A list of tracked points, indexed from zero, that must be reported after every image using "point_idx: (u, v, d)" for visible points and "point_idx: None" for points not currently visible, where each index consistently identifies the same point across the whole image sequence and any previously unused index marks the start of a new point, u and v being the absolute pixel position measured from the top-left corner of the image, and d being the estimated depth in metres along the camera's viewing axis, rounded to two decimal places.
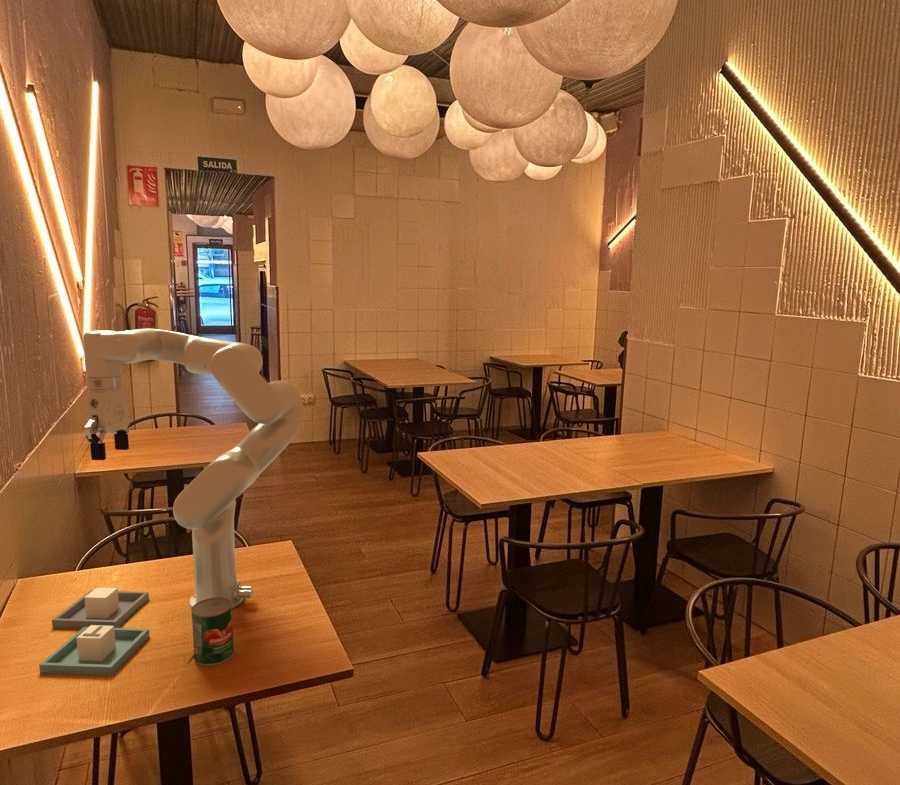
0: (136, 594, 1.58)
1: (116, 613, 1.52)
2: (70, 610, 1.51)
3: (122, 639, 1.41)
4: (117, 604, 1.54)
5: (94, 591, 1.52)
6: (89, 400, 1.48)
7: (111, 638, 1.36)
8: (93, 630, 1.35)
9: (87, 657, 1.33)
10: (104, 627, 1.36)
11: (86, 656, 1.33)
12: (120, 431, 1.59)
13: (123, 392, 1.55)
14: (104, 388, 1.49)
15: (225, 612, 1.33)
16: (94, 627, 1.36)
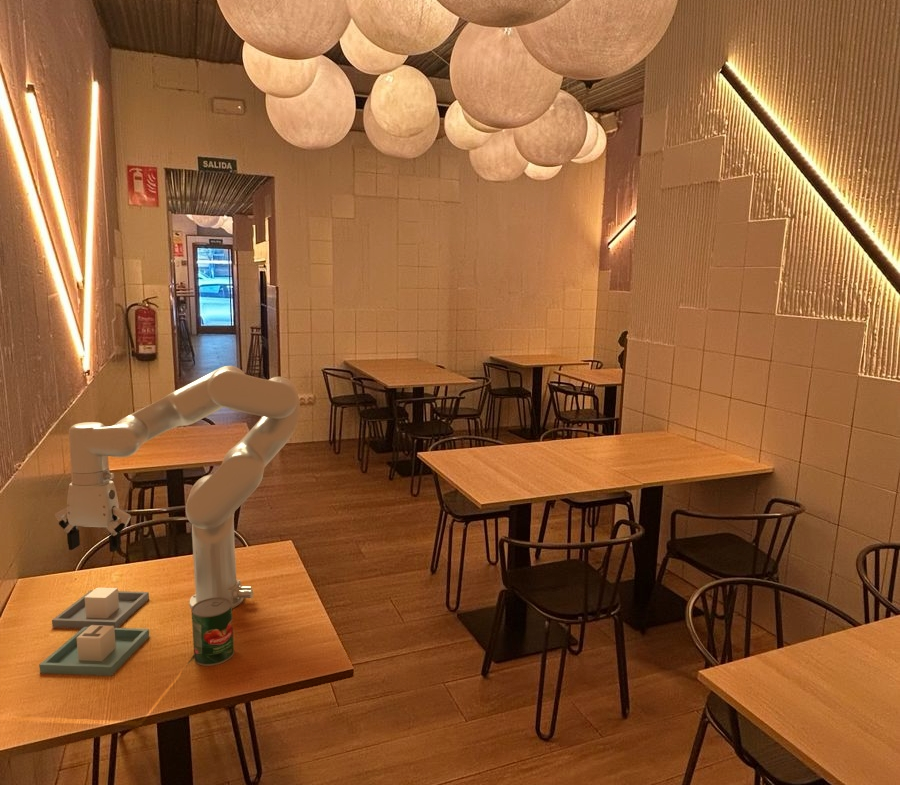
0: (136, 594, 1.58)
1: (116, 613, 1.52)
2: (70, 610, 1.51)
3: (122, 639, 1.41)
4: (117, 604, 1.54)
5: (94, 591, 1.52)
6: (107, 493, 1.46)
7: (111, 638, 1.36)
8: (93, 630, 1.35)
9: (87, 657, 1.33)
10: (104, 627, 1.36)
11: (86, 656, 1.33)
12: (73, 528, 1.49)
13: None
14: None
15: (225, 612, 1.33)
16: (94, 627, 1.36)
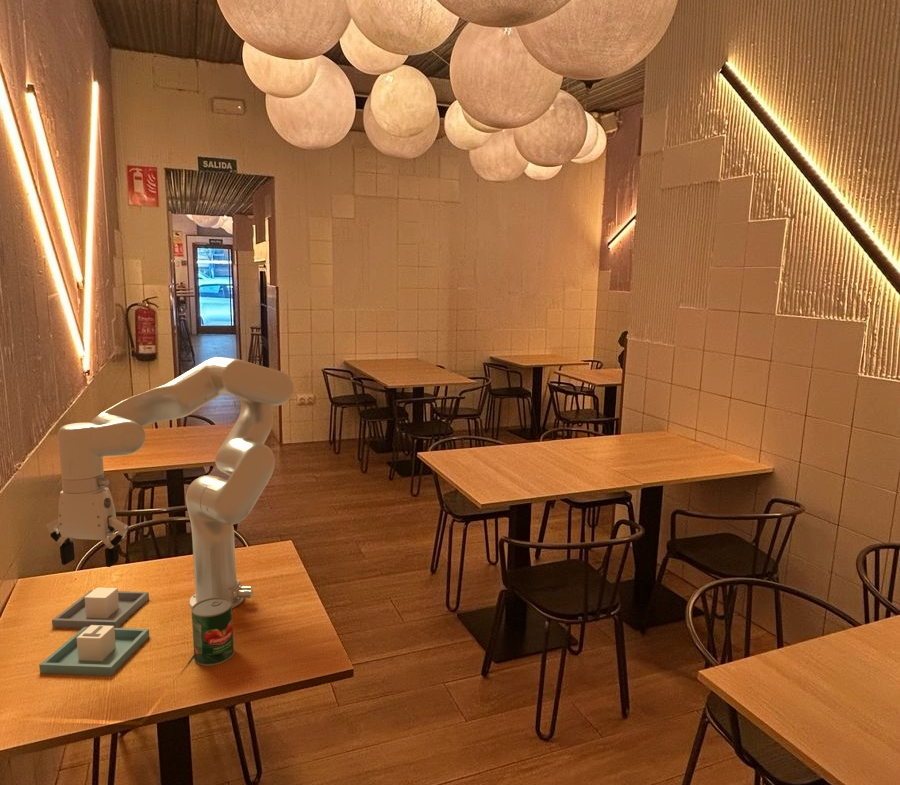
0: (136, 594, 1.58)
1: (116, 613, 1.52)
2: (70, 610, 1.51)
3: (122, 639, 1.41)
4: (117, 604, 1.54)
5: (94, 591, 1.52)
6: (101, 502, 1.31)
7: (111, 638, 1.36)
8: (93, 630, 1.35)
9: (87, 657, 1.33)
10: (104, 627, 1.36)
11: (86, 656, 1.33)
12: (66, 541, 1.35)
13: None
14: None
15: (225, 612, 1.33)
16: (94, 627, 1.36)
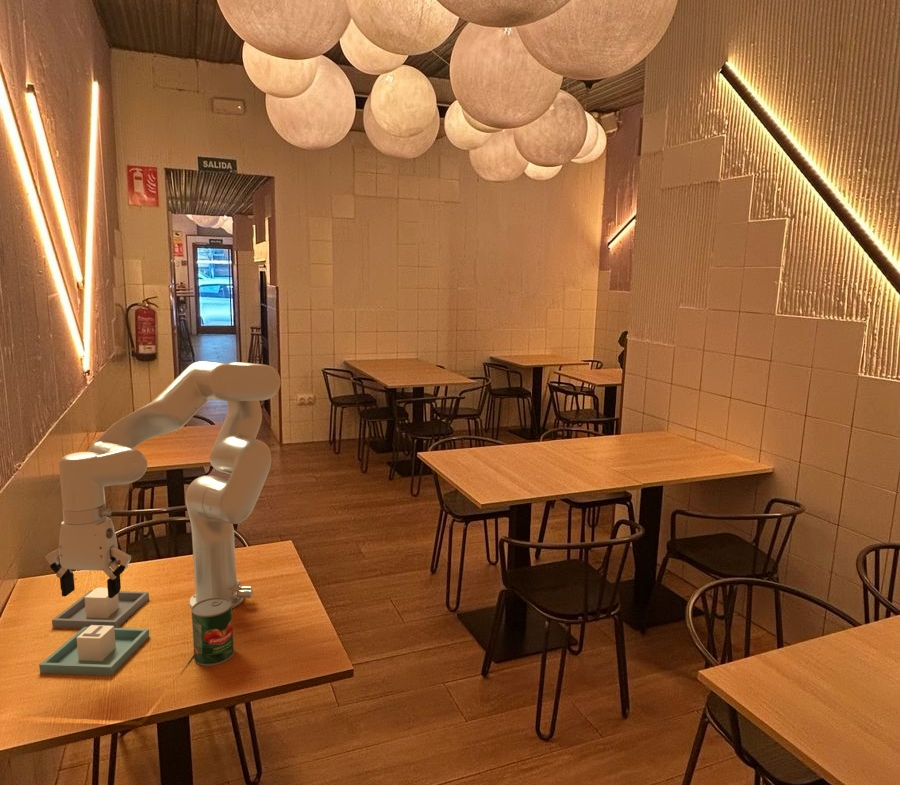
0: (136, 594, 1.58)
1: (116, 613, 1.52)
2: (70, 610, 1.51)
3: (122, 639, 1.41)
4: (117, 604, 1.54)
5: (94, 591, 1.52)
6: (104, 532, 1.30)
7: (111, 638, 1.36)
8: (93, 630, 1.35)
9: (87, 657, 1.33)
10: (104, 627, 1.36)
11: (86, 656, 1.33)
12: (67, 572, 1.33)
13: None
14: None
15: (225, 612, 1.33)
16: (94, 627, 1.36)
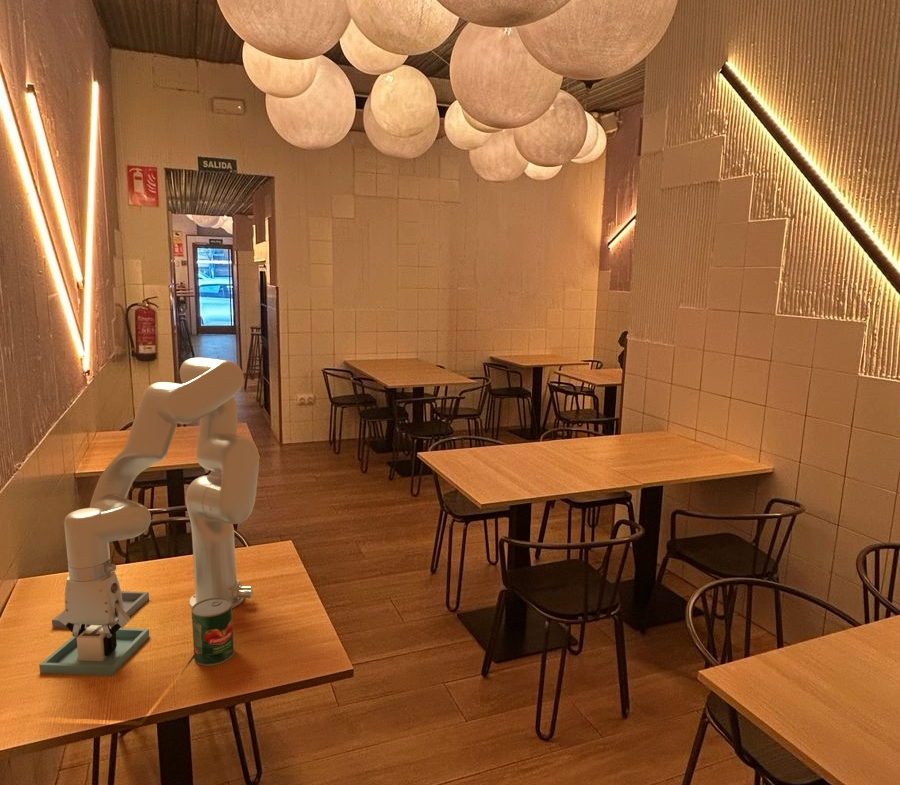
0: (136, 594, 1.58)
1: None
2: None
3: (122, 639, 1.41)
4: None
5: None
6: (109, 588, 1.31)
7: None
8: (93, 630, 1.35)
9: (87, 657, 1.33)
10: None
11: (86, 656, 1.33)
12: (82, 629, 1.35)
13: None
14: None
15: (225, 612, 1.33)
16: (94, 627, 1.36)
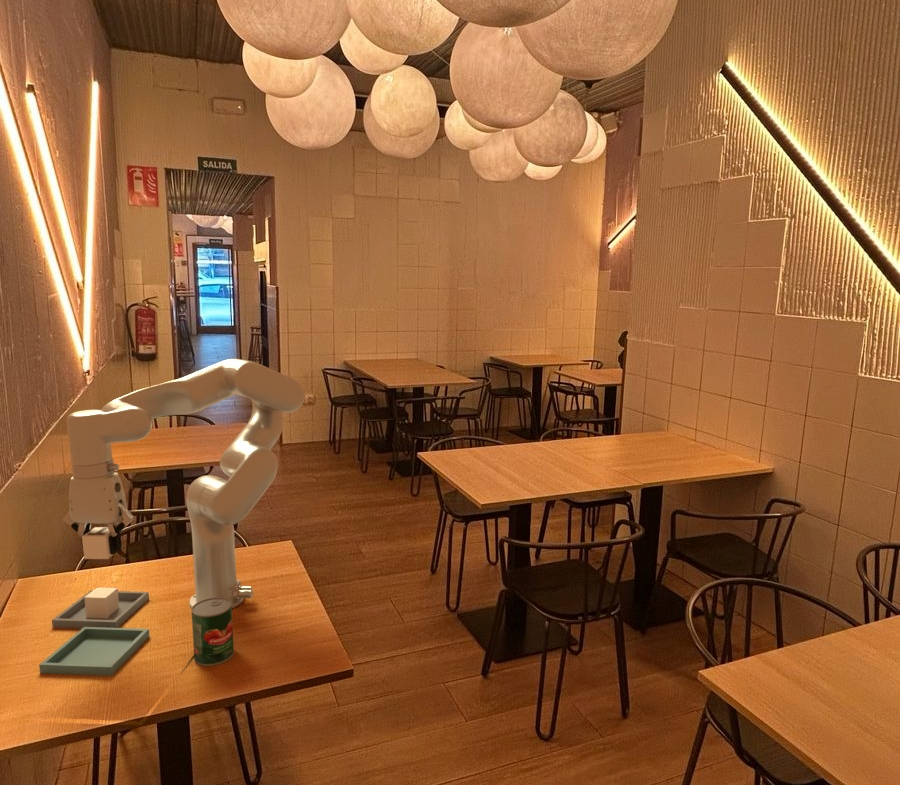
0: (136, 594, 1.58)
1: (116, 613, 1.52)
2: (70, 610, 1.51)
3: (122, 639, 1.41)
4: (117, 604, 1.54)
5: (94, 591, 1.52)
6: (112, 486, 1.34)
7: None
8: (98, 530, 1.38)
9: (93, 555, 1.36)
10: None
11: (92, 554, 1.36)
12: (87, 530, 1.38)
13: None
14: None
15: (225, 612, 1.33)
16: (98, 528, 1.39)
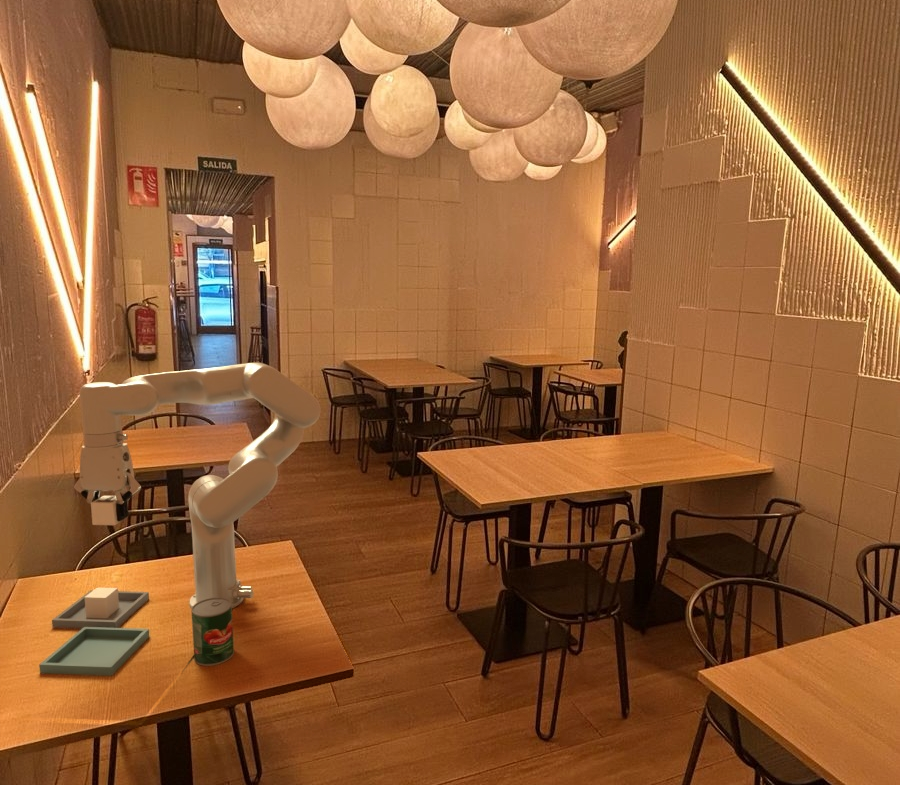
0: (136, 594, 1.58)
1: (116, 613, 1.52)
2: (70, 610, 1.51)
3: (122, 639, 1.41)
4: (117, 604, 1.54)
5: (94, 591, 1.52)
6: (121, 455, 1.41)
7: None
8: (106, 498, 1.44)
9: (100, 521, 1.42)
10: None
11: (100, 521, 1.42)
12: (96, 497, 1.44)
13: None
14: (122, 440, 1.43)
15: (225, 612, 1.33)
16: (107, 497, 1.45)
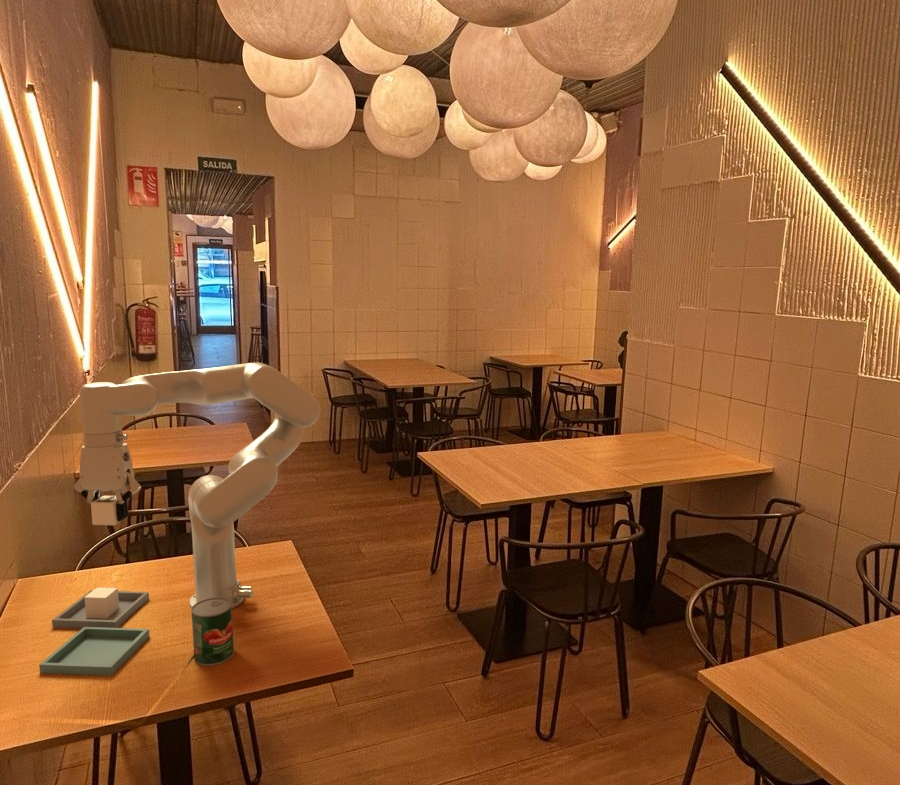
0: (136, 594, 1.58)
1: (116, 613, 1.52)
2: (70, 610, 1.51)
3: (122, 639, 1.41)
4: (117, 604, 1.54)
5: (94, 591, 1.52)
6: (121, 455, 1.41)
7: None
8: (106, 498, 1.44)
9: (100, 521, 1.42)
10: None
11: (100, 521, 1.42)
12: (96, 497, 1.44)
13: None
14: (122, 440, 1.43)
15: (225, 612, 1.33)
16: (107, 497, 1.45)
